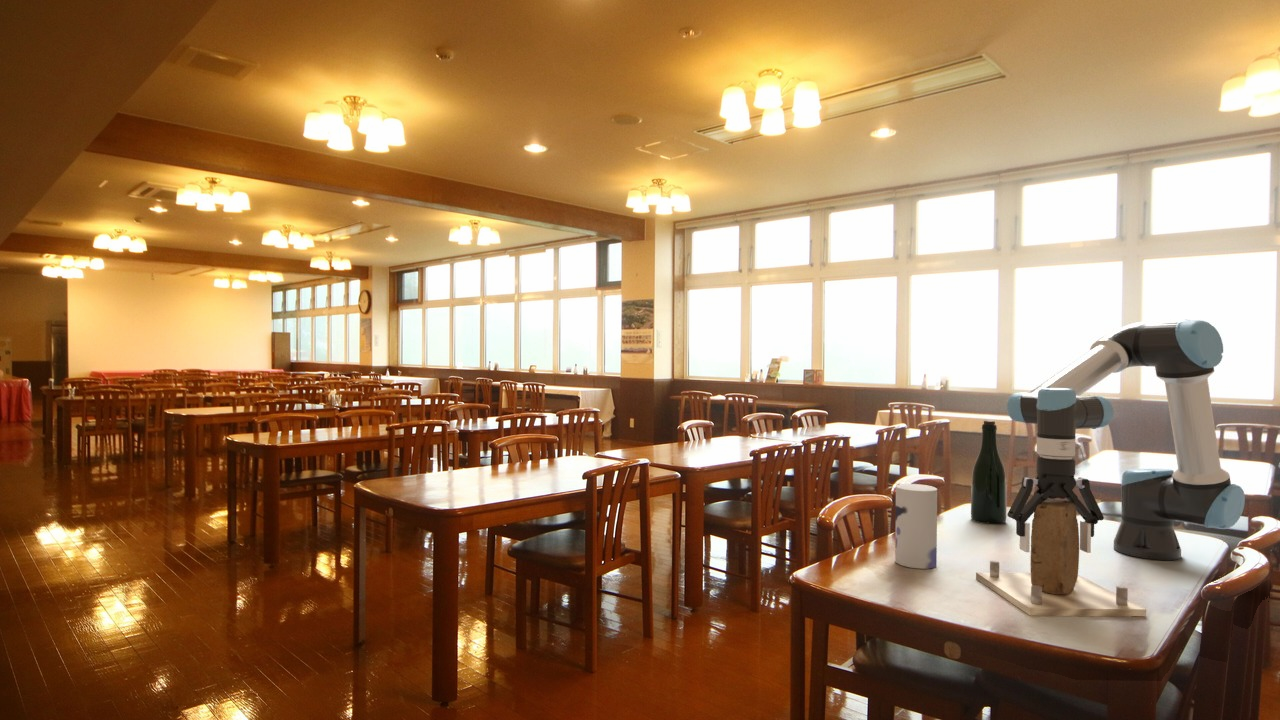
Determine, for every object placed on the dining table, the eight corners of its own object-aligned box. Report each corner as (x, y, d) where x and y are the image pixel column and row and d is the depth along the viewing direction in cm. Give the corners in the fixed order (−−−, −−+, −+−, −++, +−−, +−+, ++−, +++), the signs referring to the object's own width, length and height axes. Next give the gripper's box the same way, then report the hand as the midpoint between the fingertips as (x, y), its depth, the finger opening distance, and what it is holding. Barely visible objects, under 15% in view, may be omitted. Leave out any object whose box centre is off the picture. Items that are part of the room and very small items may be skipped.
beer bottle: (1000, 518, 234) (1001, 419, 233) (1011, 525, 223) (1012, 422, 223) (967, 516, 235) (967, 418, 235) (975, 524, 225) (976, 421, 225)
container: (888, 558, 186) (889, 483, 186) (924, 557, 187) (925, 483, 187) (906, 569, 176) (906, 490, 176) (944, 569, 177) (944, 490, 177)
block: (1062, 599, 151) (1064, 507, 151) (1026, 589, 157) (1028, 500, 157) (1083, 589, 158) (1085, 500, 158) (1047, 580, 164) (1049, 495, 164)
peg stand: (1075, 579, 169) (1075, 558, 169) (1145, 616, 145) (1146, 592, 145) (975, 578, 170) (976, 558, 170) (1029, 615, 146) (1030, 591, 146)
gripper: (1008, 458, 154) (1007, 555, 154) (1122, 459, 153) (1121, 556, 154) (991, 453, 161) (991, 545, 161) (1100, 454, 161) (1099, 546, 161)
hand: (1054, 551), depth 158 cm, fingers open, 13 cm apart
